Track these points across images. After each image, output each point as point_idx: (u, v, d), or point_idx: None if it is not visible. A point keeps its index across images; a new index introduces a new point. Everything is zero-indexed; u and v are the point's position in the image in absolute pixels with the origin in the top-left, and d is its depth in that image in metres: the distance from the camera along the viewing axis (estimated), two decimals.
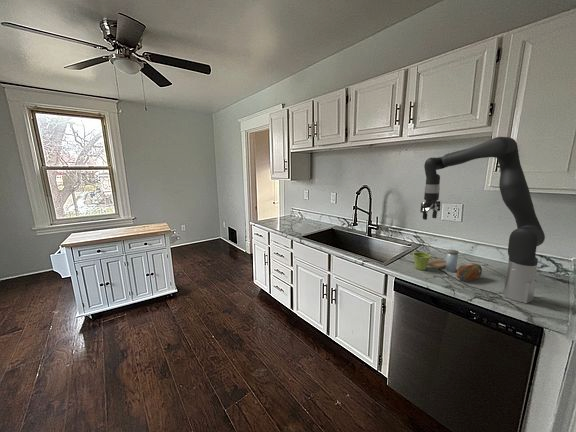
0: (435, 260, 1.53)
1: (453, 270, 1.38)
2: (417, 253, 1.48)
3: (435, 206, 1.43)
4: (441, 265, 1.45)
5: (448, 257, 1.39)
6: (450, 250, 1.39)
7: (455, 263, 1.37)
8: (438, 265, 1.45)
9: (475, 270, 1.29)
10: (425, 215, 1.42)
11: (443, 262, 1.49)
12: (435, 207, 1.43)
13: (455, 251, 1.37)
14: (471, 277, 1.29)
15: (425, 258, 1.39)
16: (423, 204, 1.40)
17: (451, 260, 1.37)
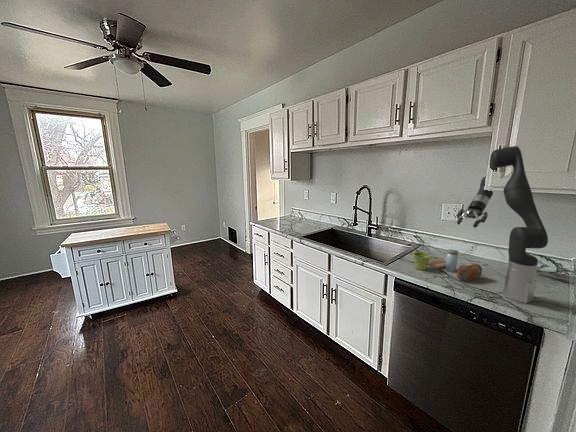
0: (435, 260, 1.53)
1: (453, 270, 1.38)
2: (417, 253, 1.48)
3: (474, 213, 1.39)
4: (441, 265, 1.45)
5: (448, 257, 1.39)
6: (450, 250, 1.39)
7: (455, 263, 1.37)
8: (438, 265, 1.45)
9: (475, 270, 1.29)
10: (458, 219, 1.45)
11: (443, 262, 1.49)
12: (474, 214, 1.39)
13: (455, 251, 1.37)
14: (471, 277, 1.29)
15: (425, 258, 1.39)
16: None
17: (451, 260, 1.37)
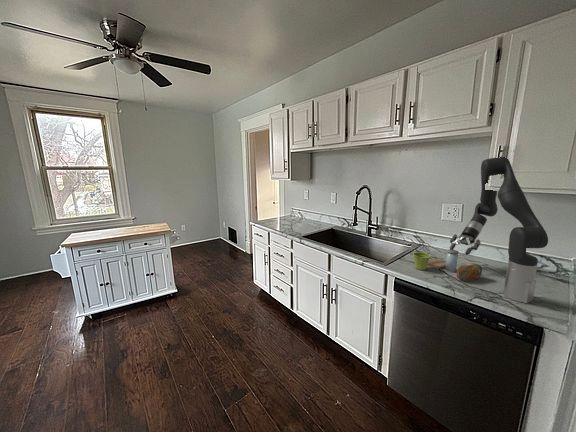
0: (435, 260, 1.53)
1: (453, 270, 1.38)
2: (417, 253, 1.48)
3: (467, 240, 1.40)
4: (441, 265, 1.45)
5: (448, 257, 1.39)
6: (450, 250, 1.39)
7: (455, 263, 1.37)
8: (438, 265, 1.45)
9: (475, 270, 1.29)
10: (451, 245, 1.45)
11: (443, 262, 1.49)
12: (467, 241, 1.39)
13: (455, 251, 1.37)
14: (471, 277, 1.29)
15: (425, 258, 1.39)
16: None
17: (451, 260, 1.37)
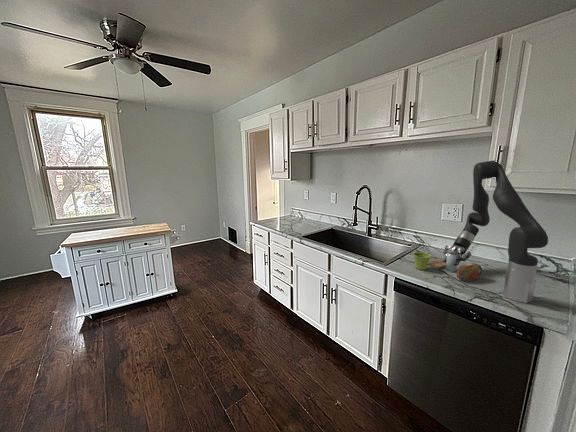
0: (435, 260, 1.53)
1: (453, 270, 1.38)
2: (417, 253, 1.48)
3: None
4: (441, 265, 1.45)
5: (448, 257, 1.39)
6: (450, 250, 1.39)
7: None
8: (438, 265, 1.45)
9: (475, 270, 1.29)
10: (445, 257, 1.42)
11: (443, 262, 1.49)
12: None
13: (455, 251, 1.37)
14: (471, 277, 1.29)
15: (425, 258, 1.39)
16: None
17: (451, 260, 1.37)
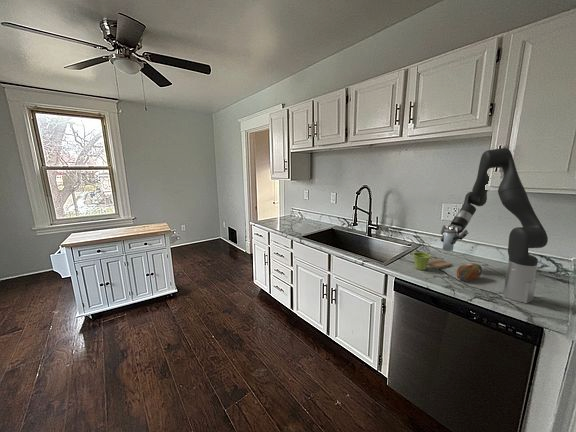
0: (435, 260, 1.53)
1: (450, 249, 1.39)
2: (417, 253, 1.48)
3: None
4: (441, 265, 1.45)
5: (445, 236, 1.40)
6: (447, 229, 1.40)
7: None
8: (438, 265, 1.45)
9: (475, 270, 1.29)
10: (442, 236, 1.44)
11: (443, 262, 1.49)
12: None
13: (452, 230, 1.39)
14: (471, 277, 1.29)
15: (425, 258, 1.39)
16: None
17: (448, 239, 1.38)
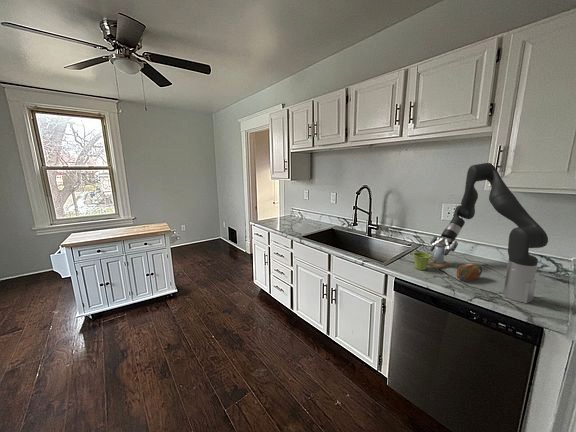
0: None
1: (440, 262, 1.46)
2: (417, 253, 1.48)
3: (446, 242, 1.46)
4: (441, 265, 1.45)
5: (436, 250, 1.47)
6: (438, 243, 1.48)
7: (442, 255, 1.46)
8: (438, 265, 1.45)
9: (475, 270, 1.29)
10: (431, 246, 1.52)
11: (443, 262, 1.49)
12: (445, 243, 1.46)
13: (442, 244, 1.46)
14: (471, 277, 1.29)
15: (425, 258, 1.39)
16: None
17: (439, 253, 1.46)
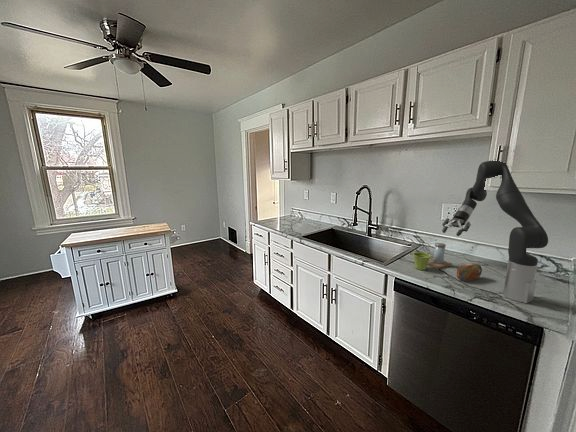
0: None
1: (440, 262, 1.46)
2: (417, 253, 1.48)
3: (458, 223, 1.49)
4: (441, 265, 1.45)
5: (436, 250, 1.47)
6: (438, 243, 1.48)
7: (442, 256, 1.46)
8: (438, 265, 1.45)
9: (475, 270, 1.29)
10: (444, 228, 1.54)
11: (443, 262, 1.49)
12: (458, 224, 1.48)
13: (442, 244, 1.46)
14: (471, 277, 1.29)
15: (425, 258, 1.39)
16: None
17: (439, 253, 1.46)
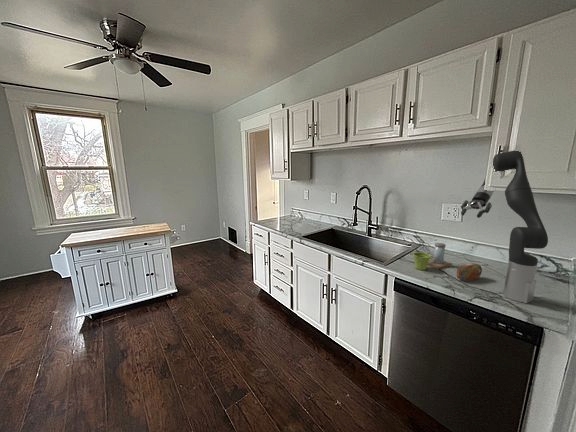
0: None
1: (440, 262, 1.46)
2: (417, 253, 1.48)
3: (478, 204, 1.42)
4: (441, 265, 1.45)
5: (436, 250, 1.47)
6: (438, 243, 1.48)
7: (442, 256, 1.46)
8: (438, 265, 1.45)
9: (475, 270, 1.29)
10: (462, 210, 1.48)
11: (443, 262, 1.49)
12: (478, 205, 1.42)
13: (442, 244, 1.46)
14: (471, 277, 1.29)
15: (425, 258, 1.39)
16: None
17: (439, 253, 1.46)
